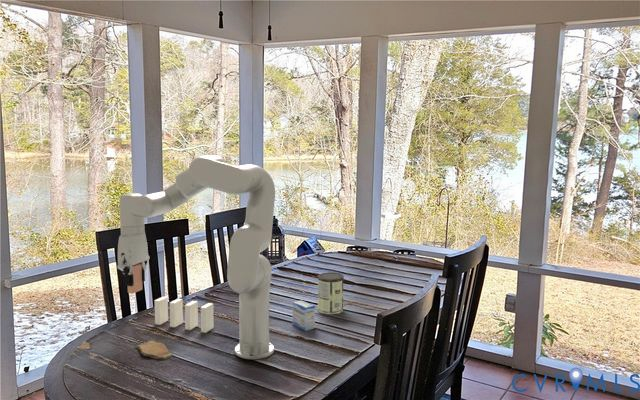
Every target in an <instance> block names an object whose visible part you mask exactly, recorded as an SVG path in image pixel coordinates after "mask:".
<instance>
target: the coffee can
mask: <svg viewBox="0 0 640 400" xmlns="http://www.w3.org/2000/svg"><path fill="white" fill-rule="evenodd" d="M344 278H345V277H344V274H342V273H339V272H323V273H319V274H318V275H317V311H318V312H319V313H321V314H324V315H337V314H340V313H343V312H344Z"/></svg>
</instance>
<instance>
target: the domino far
mask: <svg viewBox="0 0 640 400" xmlns="http://www.w3.org/2000/svg"><path fill="white" fill-rule="evenodd" d="M167 322H169V297H168V296H161V297H158V298H157V299H154V323H155V324H154V325H158V326H161V325H163V324H165V323H167Z"/></svg>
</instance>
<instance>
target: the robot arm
mask: <svg viewBox="0 0 640 400" xmlns="http://www.w3.org/2000/svg"><path fill="white" fill-rule="evenodd" d="M269 173H270V172H269ZM269 173H268V171H267V170H266V169H264V168H263V167H261V166H259V165H256V164H242V165H232V164H229V163H227V161H226V160H225V159H224V158H223V157H222V156H219V155H218V154H215V155H214V154H211V155H201V156H197V157H195V158H193V160H192V161H191V162H190V163H189V166H188V168H186V169H184V170H183V171H181V172H179V173H178V174H177V175H176V176H175V182H174V183H173V184H171V185H169V186H168V187H167V188H165V189H163V190H161V191H159V192H157V191H156V192H153V193H147V194H141V193H139V192H138V193H136V192H131V193H129V192H128V193H122V194H121V195H120V196H119V198H118V199H119V200H118V202H119V203H118V204H119V222H120V235H119V237H118V243H117V267H116V268H117V269H118V270H120V271H121V273H122V274H123V275H124V277H123V278H124V280H123V281H124V286H126V287H128V286H133V285H134V282H133V274H132V268H133V265H135V264H142V283H143V282H146V273H145V272H146V271H145V270H146V267H147V264H148V262H149V260H150V255H149V250H148V242H147V241H148V240H147V237H146V236H147V235H146V230H145V219H149V218H153V217H157V216H160V215H165V214H168V213H169V212H172V211H173V210H175V209H177V208H178V207H181V206H183V205H184V204H185V203H187V202H189V200H191V199H192V198H193V197H194V196H197V195H198V194H200V193H201V192H203V191H205V190H207V189H212V190H215V191H218V192H221V193H226V194H229V195H232V196H233V195H234V196H240V195H243V194H247V193H249V195H248V201H247V203H246V207H245V209H246V210H245V220H244V224H243V226H241V227H239V228H237V229H236V230H235V231H234V232H233V234H232V236H231V237H230V241H229V249H228V250H229V251H228V258H227V259H228V260H227V270H226V271H227V273H226V274H227V275H226V277H227V282H228V285H229V287H230V288H231V289H232V291H234V292H235V293H237V294H239V296H238V297H239V298H238V304H239V305H238V308H239V309H238V311H239V312H238V314H239V315H238V316H239V318H238V323H239V324H238V325H239V326H238V327H239V335H238V336H239V337H238V338H239V343H238V344H237V345H235V347H234V353H235V355H236V356H237V357H239V358H242V359H243V360H244V359H245V360H259V359H265V358H267V357H270V356H272V355H273V353H274V352H275V346H274V344H272V343H271V342H270V289H271V280H272V266H271V263H270V261H269V259H268V258H267V257H266V256H264V255H263V254H260V253H262V252H263V251H265V250H266V249H268V248H269V247H270V245H271V242H272V238H273V237H272V236H273V223H274V211H275V201H276V187H275V186H276V185H275V182H274V180H273V178H272V176H271V174H269ZM127 267H129V270H128V269H127Z"/></svg>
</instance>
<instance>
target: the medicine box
mask: <svg viewBox="0 0 640 400" xmlns="http://www.w3.org/2000/svg"><path fill="white" fill-rule="evenodd" d="M315 314H316V306H315V305H313V304H311V303H308V302H306V301H304V300H297V301H293V302H292V322H291V323H292V325H293V326H295V327H296V328H298V329H300V330H303V331H305V332H306V331H307V332H308V331H311V330H313V329H315V326H316V325H315V323H316V315H315Z"/></svg>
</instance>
